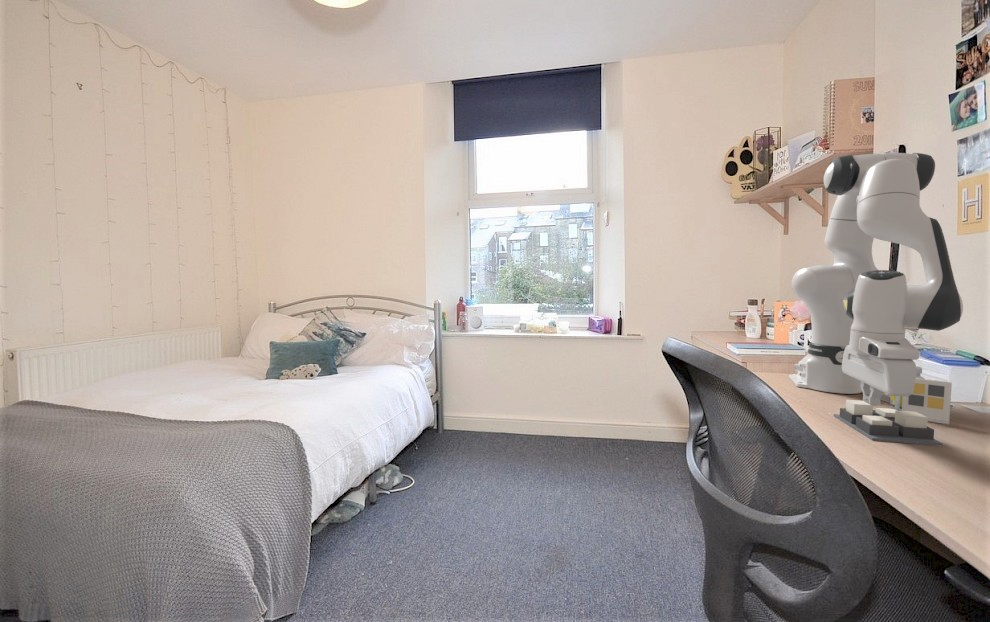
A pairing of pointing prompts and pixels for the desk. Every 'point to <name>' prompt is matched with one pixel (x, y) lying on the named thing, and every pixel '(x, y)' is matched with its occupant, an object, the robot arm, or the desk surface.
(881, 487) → the desk surface
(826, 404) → the desk surface
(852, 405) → the button
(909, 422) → the button
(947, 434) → the desk surface
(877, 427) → the button board
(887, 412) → the button
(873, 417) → the button
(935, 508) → the desk surface
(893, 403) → the pill bottle
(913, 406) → the card
